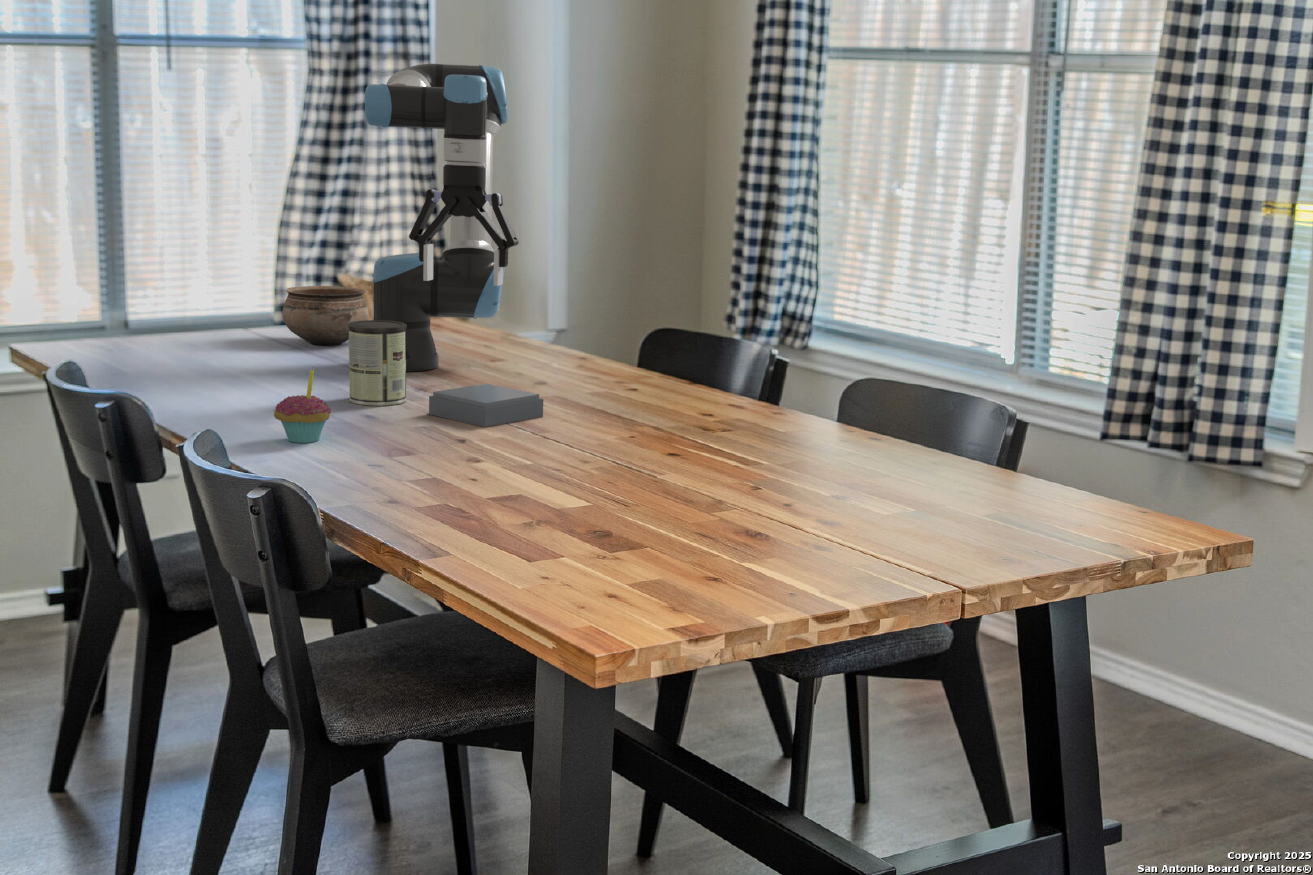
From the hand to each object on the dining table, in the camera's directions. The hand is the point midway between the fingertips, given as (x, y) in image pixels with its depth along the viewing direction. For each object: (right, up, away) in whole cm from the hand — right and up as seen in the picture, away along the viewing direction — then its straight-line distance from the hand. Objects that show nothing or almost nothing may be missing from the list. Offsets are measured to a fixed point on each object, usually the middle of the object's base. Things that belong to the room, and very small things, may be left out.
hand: (463, 282), depth 249 cm
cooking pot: (-40, -7, +61) cm, 73 cm away
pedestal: (+5, -24, -10) cm, 27 cm away
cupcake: (-20, -29, -35) cm, 49 cm away
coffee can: (-15, -22, -1) cm, 27 cm away
